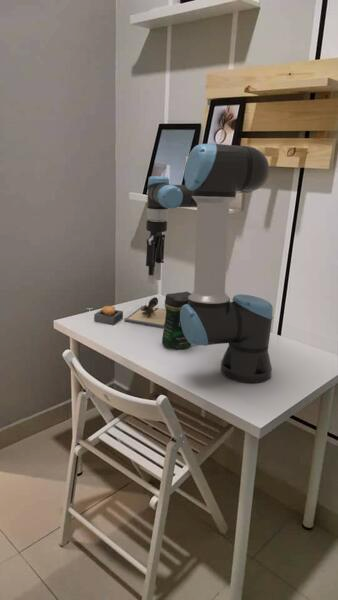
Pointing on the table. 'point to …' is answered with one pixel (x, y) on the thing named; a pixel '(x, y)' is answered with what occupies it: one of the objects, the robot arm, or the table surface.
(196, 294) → the robot arm
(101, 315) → the button housing
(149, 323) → the board
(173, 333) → the coffee jar
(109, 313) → the button
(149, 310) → the eagle figurine
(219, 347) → the table surface
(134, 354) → the table surface
